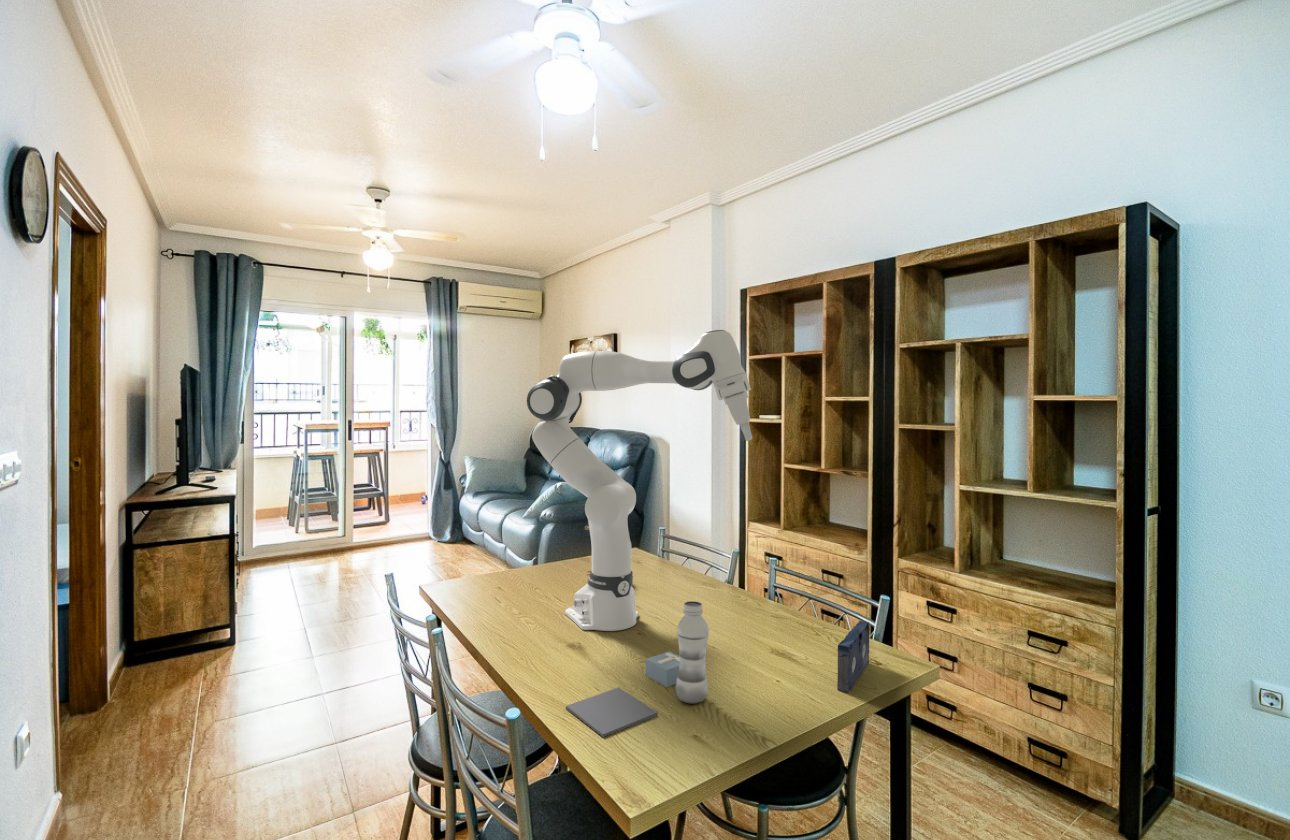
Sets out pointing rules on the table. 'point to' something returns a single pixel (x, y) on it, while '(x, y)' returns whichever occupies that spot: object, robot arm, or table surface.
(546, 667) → the table surface
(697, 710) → the table surface
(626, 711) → the charcoal mat
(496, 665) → the table surface
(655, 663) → the letter block
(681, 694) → the plastic bottle
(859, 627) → the vhs cassette tape
